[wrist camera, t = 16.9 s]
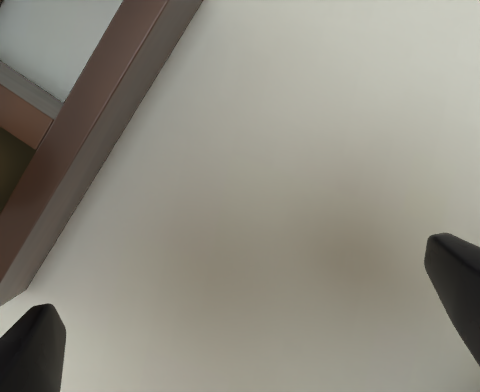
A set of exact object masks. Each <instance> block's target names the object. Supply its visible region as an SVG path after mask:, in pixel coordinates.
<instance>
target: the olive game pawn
mask: <svg viewBox="0 0 480 392" xmlns="http://www.w3.org/2000/svg"><path fill="white" fill-rule="evenodd" d="M36 151H37V150H35V149H33V148H32V147H30V146H29V145H27V144H26V143H24V142H23V141H21V140H20V139H18V138H17V137H15V136H14V135H12V134H11V133H9V132H8V131H6V130H5V129H3V128H2V127H0V213H1V211H2V210H3V208H4V206H5V204H6V203H7V201H8V199H9V197H10V196H11V194H12V192H13V191H14V189H15V187H16V185H17V184H18V182H19V180H20V178H21V177H22V175H23V173H24V171H25V170H26V168H27V166H28V165H29V163H30V161H31V159H32V158H33V156H34V154H35V152H36Z"/></svg>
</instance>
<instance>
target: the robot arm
mask: <svg viewBox="0 0 480 392" xmlns="http://www.w3.org/2000/svg"><path fill="white" fill-rule="evenodd" d="M424 265H425V269H426V272H427V274H428V276H429V278H430V280H431V282H432V284H433V286H434V288H435V290H436V292H437V294H438V296H439V298H440V300H441V302H442V304H443V306H444V308H445V310H446V312H447V314H448V316H449V318H450V319H451V321H452V323H453V325H454V327H455V328H456V330H457V332H458V333H459V335H460V336H461V338H462V340H463V341H464V343H465V344H466V346H467V347H468V349H469V350H470V352H471V354H472V355H473V357H474V358H475V360H476V361H477V363H478V364H479V366H480V247H478V246H476V245H474V244H471V243H469V242H467V241H465V240H462V239H460V238H458V237H456V236H454V235H451V234H449V233H440V234H435V235H431V236H430V237H429V238H428V240H427V246H426V252H425V259H424ZM65 342H66V329H65V326H64V324H63V322H62V320H61V318H60V316H59V314H58V313H57V311H56V309H55V307H54V306H53V305H52V304H43V305H37V306H33V307H32V308H30V309H29V310H28V311H27V312H26V313H25V314H24V315H23V316H22V317H21V318H20V319H19V320H18V321H17V322H16V323H15V324H14V325H13V326H12V327H11V328H10V329H9V330H8V331H7V332H6V333H5V334H4V335H3V336H2V337H1V338H0V392H60V388H61V379H62V370H63V361H64V352H65Z"/></svg>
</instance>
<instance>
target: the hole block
mask: <svg viewBox="0 0 480 392" xmlns="http://www.w3.org/2000/svg"><path fill="white" fill-rule="evenodd" d="M202 1H203V0H123V2H122V3H121V5H120V7H119V9H118V10H117V12H116V14H115V16H114V17H113V19H112V21H111V23H110V24H109V26H108V28H107V29H106V31H105V33H104V35H103V36H102V38H101V40H100V42H99V43H98V45H97V47H96V49H95V50H94V52H93V54H92V55H91V57H90V59H89V61H88V62H87V64H86V66H85V68H84V69H83V71H82V73H81V74H80V76H79V78H78V80H77V81H76V83H75V85H74V87H73V88H72V90H71V92H70V94H69V95H68V97H67V99H66V100H65V102H64V103H62V102H61V101H59V100H58V99H56V98H55V97H53V96H52V95H50V94H49V93H48V92H46V91H45V90H43V89H42V88H40V87H39V86H37V85H36V84H34V83H33V82H31V81H30V80H28V79H27V78H25V77H24V76H22V75H21V74H19V73H18V72H16V71H15V70H13V69H12V68H10V67H9V66H7V65H6V64H5V63H3V62H2V61H0V127H2V128H3V129H5V130H6V131H8V132H9V133H11V134H12V135H14V136H15V137H17V138H18V139H20V140H21V141H23V142H24V143H26V144H27V145H29V146H30V147H32V148H33V149H35V150H37V151H36V152H35V154H34V156H33V158H32V159H31V161H30V163H29V165H28V166H27V168H26V170H25V171H24V173H23V175H22V177H21V178H20V180H19V182H18V184H17V185H16V187H15V189H14V191H13V192H12V194H11V196H10V197H9V199H8V201H7V203H6V204H5V206H4V208H3V210H2V211H1V213H0V306H2V305H3V304H5V303H6V302H8V301H9V300H11V299H12V298H14V297H16V296H17V295H19V294H20V293H22V292H23V291H25V290H26V289H27V287H28V285H29V284H30V282H31V280H32V279H33V277H34V276H35V274H36V272H37V271H38V269H39V267H40V266H41V264H42V262H43V261H44V259H45V258H46V256H47V254H48V253H49V251H50V249H51V248H52V246H53V245H54V243H55V241H56V240H57V238H58V236H59V235H60V233H61V231H62V230H63V228H64V227H65V225H66V223H67V222H68V220H69V218H70V217H71V215H72V213H73V212H74V210H75V209H76V207H77V205H78V204H79V202H80V200H81V199H82V197H83V195H84V194H85V192H86V191H87V189H88V187H89V186H90V184H91V182H92V181H93V179H94V177H95V176H96V174H97V173H98V171H99V169H100V168H101V166H102V164H103V163H104V161H105V160H106V158H107V156H108V155H109V153H110V151H111V150H112V148H113V146H114V145H115V143H116V142H117V140H118V138H119V137H120V135H121V133H122V132H123V130H124V128H125V127H126V125H127V124H128V122H129V120H130V119H131V117H132V115H133V114H134V112H135V110H136V109H137V107H138V106H139V104H140V102H141V101H142V99H143V97H144V96H145V94H146V92H147V91H148V89H149V88H150V86H151V84H152V83H153V81H154V79H155V78H156V76H157V74H158V73H159V71H160V70H161V68H162V66H163V65H164V63H165V61H166V60H167V58H168V57H169V55H170V53H171V52H172V50H173V48H174V47H175V45H176V43H177V42H178V40H179V39H180V37H181V35H182V34H183V32H184V30H185V29H186V27H187V25H188V24H189V22H190V21H191V19H192V17H193V16H194V14H195V12H196V11H197V9H198V7H199V6H200V4H201V3H202ZM1 2H2V0H0V4H1Z"/></svg>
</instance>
